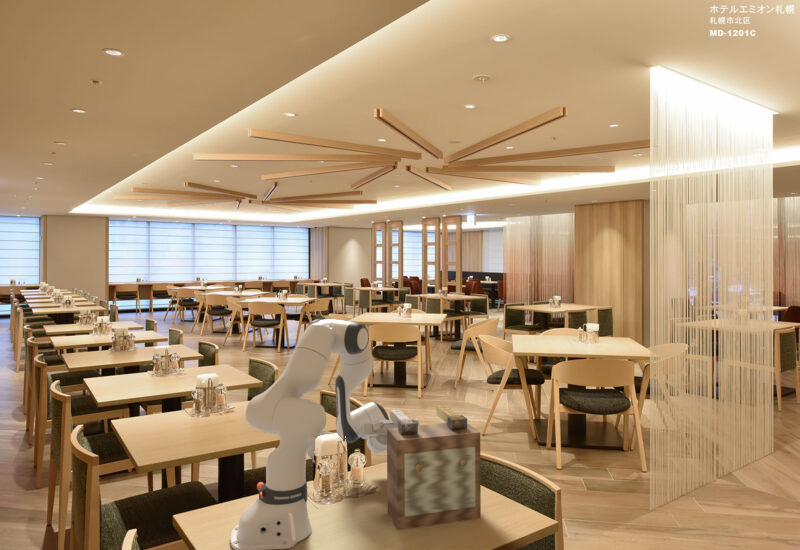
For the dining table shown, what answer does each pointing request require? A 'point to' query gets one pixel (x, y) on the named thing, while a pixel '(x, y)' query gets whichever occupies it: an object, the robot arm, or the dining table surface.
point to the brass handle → (451, 418)
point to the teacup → (312, 446)
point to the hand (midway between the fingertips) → (394, 423)
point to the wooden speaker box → (433, 476)
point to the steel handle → (403, 422)
